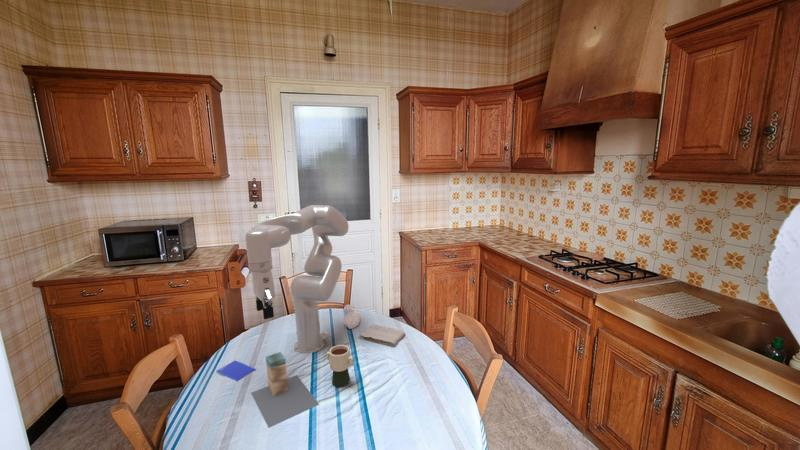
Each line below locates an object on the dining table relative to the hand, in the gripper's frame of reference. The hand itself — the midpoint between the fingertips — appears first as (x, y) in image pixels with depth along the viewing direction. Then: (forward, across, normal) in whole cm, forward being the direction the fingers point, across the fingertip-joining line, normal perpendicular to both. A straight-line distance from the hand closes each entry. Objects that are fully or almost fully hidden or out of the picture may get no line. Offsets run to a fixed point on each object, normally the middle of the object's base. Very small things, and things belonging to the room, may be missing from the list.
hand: (265, 313), depth 120 cm
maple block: (+25, -8, 0) cm, 26 cm away
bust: (+26, +20, -44) cm, 55 cm away
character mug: (+26, -18, -19) cm, 37 cm away
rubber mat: (+26, -14, 0) cm, 29 cm away
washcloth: (+27, +1, -49) cm, 56 cm away
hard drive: (+27, +13, +9) cm, 31 cm away
